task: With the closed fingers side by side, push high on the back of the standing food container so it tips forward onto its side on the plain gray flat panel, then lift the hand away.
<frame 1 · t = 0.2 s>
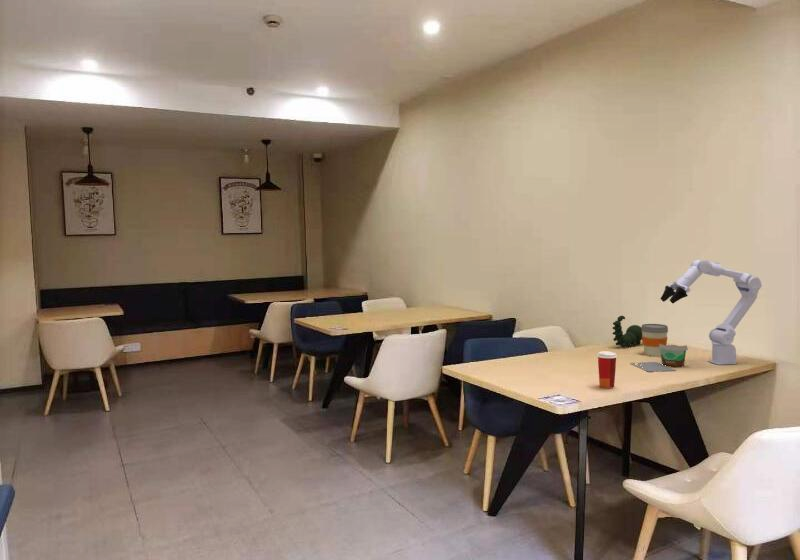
hand: (666, 301, 260), 31 cm above the table, tool tilted 45°, fingers open, 7 cm apart
paper cup: (606, 387, 229), on the table
reusable coffee cup: (654, 354, 286), on the table
toy figurine: (629, 346, 309), on the table
plain gray flat panel: (652, 367, 260), on the table
food container: (672, 366, 261), on the table
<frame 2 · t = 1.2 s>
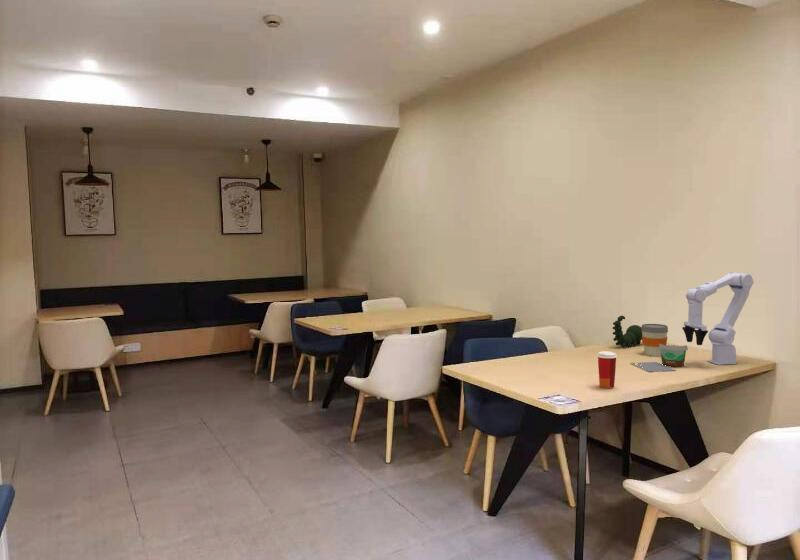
hand: (694, 343, 260), 10 cm above the table, tool pointing down, fingers open, 7 cm apart
nothing on the table moved.
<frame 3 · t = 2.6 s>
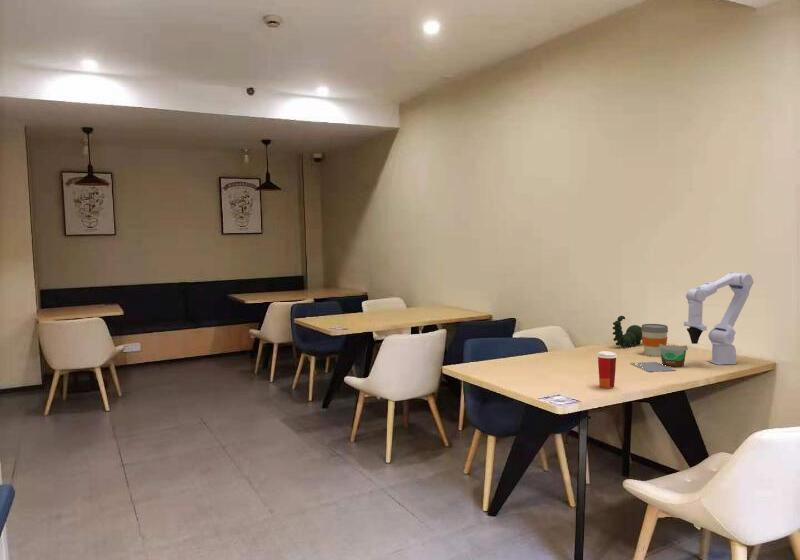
hand: (694, 343, 260), 10 cm above the table, tool pointing down, fingers closed
nothing on the table moved.
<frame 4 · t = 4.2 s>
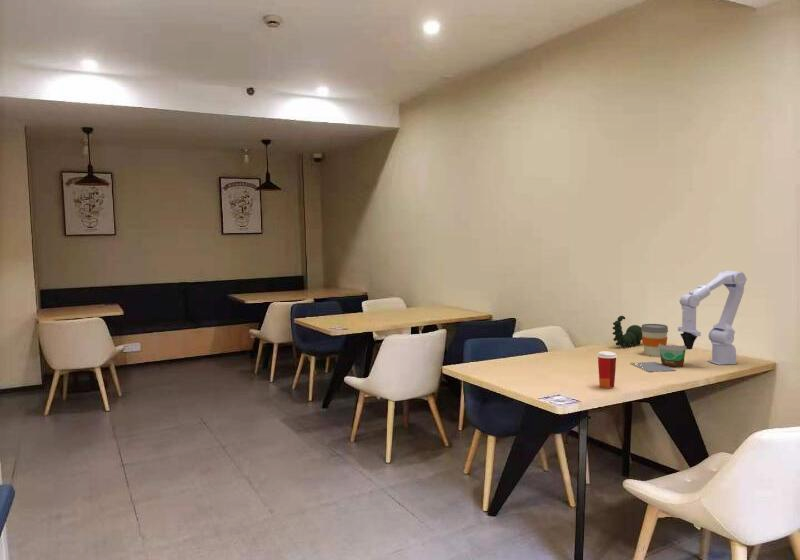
hand: (688, 348, 260), 8 cm above the table, tool pointing down, fingers closed
food container: (671, 366, 261), on the table, touching gripper
everything else where it was.
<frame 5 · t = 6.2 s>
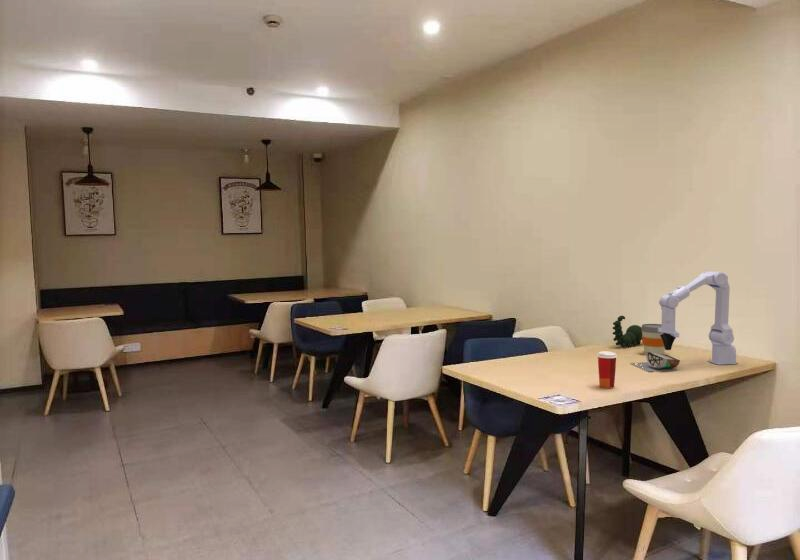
hand: (668, 349, 259), 8 cm above the table, tool pointing down, fingers closed
food container: (671, 363, 258), point 2 cm above the table, touching plain gray flat panel
everything else where it was.
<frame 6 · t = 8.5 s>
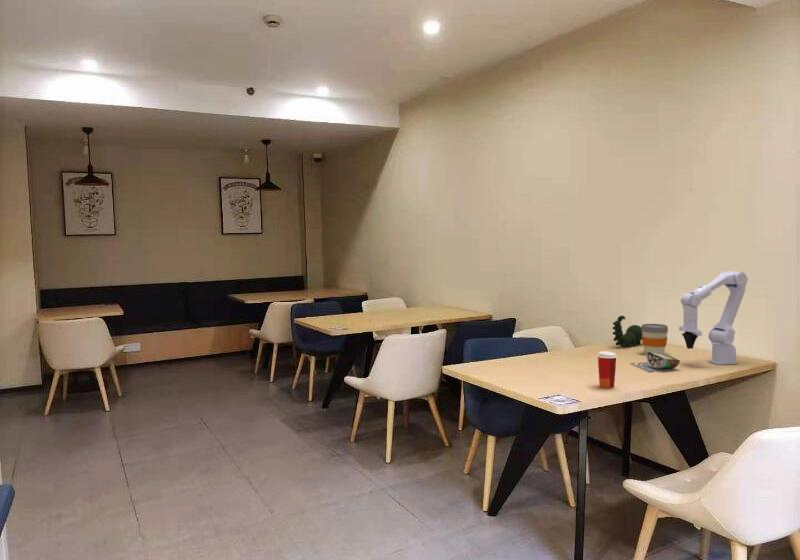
hand: (689, 348, 260), 8 cm above the table, tool pointing down, fingers closed
nothing on the table moved.
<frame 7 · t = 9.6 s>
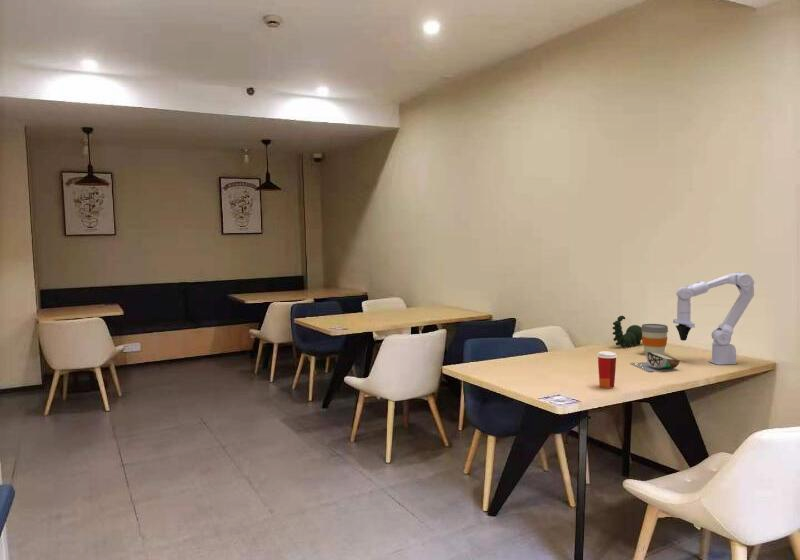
hand: (683, 340, 269), 10 cm above the table, tool pointing down, fingers closed
nothing on the table moved.
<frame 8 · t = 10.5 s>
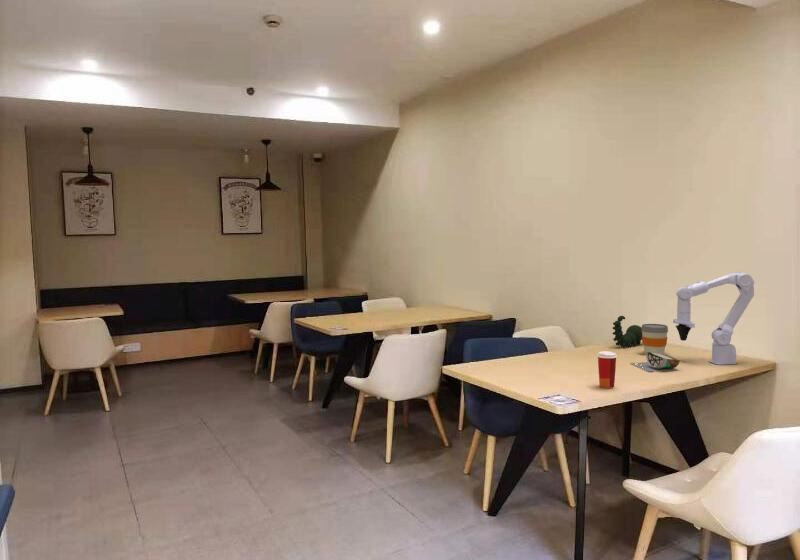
hand: (683, 340, 269), 10 cm above the table, tool pointing down, fingers closed
nothing on the table moved.
at the end: food container tilted 79°; food container touching plain gray flat panel, table; food container inside the target area (5.2 cm from its centre), point 1.8 cm above the table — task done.
